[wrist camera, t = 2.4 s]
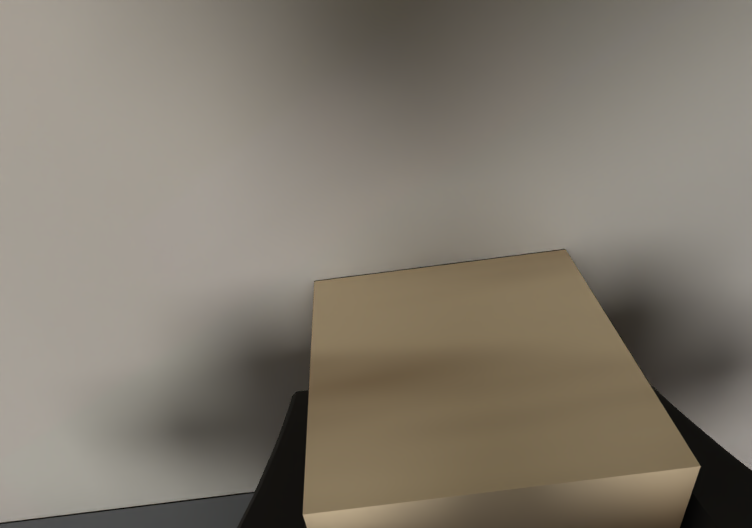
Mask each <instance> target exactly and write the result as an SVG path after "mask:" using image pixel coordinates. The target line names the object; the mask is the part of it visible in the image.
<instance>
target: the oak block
mask: <svg viewBox="0 0 752 528" xmlns="http://www.w3.org/2000/svg"><path fill="white" fill-rule="evenodd" d="M700 467H701V466H700V464H699V463H698V461H697V460H696V458H695V456H694V455H693V453H692V452H691V450H690V448H689V447H688V445H687V444H686V442H685V440H684V439H683V437H682V436H681V434H680V432H679V431H678V429H677V428H676V426H675V424H674V423H673V421H672V420H671V418H670V416H669V415H668V413H667V412H666V410H665V408H664V407H663V405H662V403H661V402H660V400H659V399H658V397H657V395H656V394H655V392H654V391H653V389H652V387H651V386H650V384H649V383H648V381H647V379H646V378H645V376H644V375H643V373H642V371H641V370H640V368H639V367H638V365H637V363H636V362H635V360H634V359H633V357H632V355H631V354H630V352H629V351H628V349H627V347H626V346H625V344H624V343H623V341H622V339H621V338H620V336H619V335H618V333H617V331H616V330H615V328H614V327H613V325H612V323H611V322H610V320H609V319H608V317H607V315H606V314H605V312H604V311H603V309H602V307H601V306H600V304H599V302H598V301H597V299H596V298H595V296H594V294H593V293H592V291H591V290H590V288H589V286H588V285H587V283H586V282H585V280H584V278H583V277H582V275H581V274H580V272H579V270H578V269H577V267H576V266H575V264H574V262H573V261H572V259H571V258H570V256H569V254H568V253H567V251H566V250H558V251H550V252H542V253H534V254H527V255H519V256H511V257H503V258H495V259H487V260H479V261H472V262H464V263H456V264H448V265H440V266H432V267H424V268H417V269H409V270H401V271H393V272H385V273H377V274H369V275H362V276H354V277H346V278H338V279H330V280H322V281H314V299H313V319H312V339H311V359H310V378H309V398H308V418H307V438H306V458H305V478H304V498H303V517H304V520H305V523H306V527H307V528H680V525H681V522H682V520H683V517H684V514H685V511H686V508H687V505H688V502H689V499H690V496H691V493H692V490H693V487H694V484H695V481H696V478H697V476H698V473H699V470H700Z"/></svg>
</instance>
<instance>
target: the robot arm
mask: <svg viewBox="0 0 752 528" xmlns="http://www.w3.org/2000/svg"><path fill="white" fill-rule="evenodd" d="M650 386H651V385H650ZM651 387H652V386H651ZM652 389H653V391H654V392H655V394H656V395H657V397H658V399H659V400H660V402H661V403H662V405H663V407H664V408H665V410H666V412H667V413H668V415H669V416H670V418H671V420H672V421H673V423H674V424H675V426H676V428H677V429H678V431H679V432H680V434H681V436H682V437H683V439H684V440H685V442H686V444H687V445H688V447H689V448H690V450H691V452H692V453H693V455H694V456H695V458H696V460H697V461H698V463H699V464H700V466H701V467H700V470H699V473H698V476H697V478H696V481H695V484H694V487H693V490H692V493H691V496H690V499H689V502H688V505H687V508H686V511H685V514H684V517H683V520H682V522H681V525H680V528H752V470H750V469H749V468H748V467H746V466H745V465H744V464H743V463H741V462H740V461H739V460H737V459H736V458H735V457H734V456H732V455H731V454H730V453H729V452H727V451H726V450H725V449H724V448H723V447H721V446H720V445H719V444H718V443H716V442H715V441H714V440H713V439H712V438H710V437H709V436H708V435H707V434H706V433H705V432H703V431H702V430H701V429H700V428H699V427H698V426H696V425H695V424H694V423H693V422H692V421H690V420H689V419H688V418H687V417H686V416H685V415H683V414H682V413H681V412H680V411H679V410H678V409H677V408H676V407H674V406H673V405H672V404H671V403H670V402H669V401H668V400H667V399H665V398H664V397H663V396H662V395H661V394H660V393H659V392H658V391H657V390H655V389H654V388H653V387H652ZM308 398H309V390H307V391H299V392H296V393H295V394H294V395H293V396H292V399H291V402H290V406H289V409H288V412H287V415H286V418H285V421H284V423H283V426H282V429H281V432H280V434H279V437H278V439H277V442H276V444H275V447H274V449H273V452H272V454H271V457H270V459H269V461H268V463H267V466H266V468H265V470H264V472H263V475H262V477H261V479H260V482H259V484H258V486H257V488H256V490H255V493H254V495H253V497H252V499H251V501H250V503H249V505H248V507H247V509H246V511H245V513H244V515H243V517H242V519H241V521H240V523H239V525H238V526H237V528H307V527H306V523H305V520H304V517H303V498H304V478H305V458H306V438H307V418H308Z"/></svg>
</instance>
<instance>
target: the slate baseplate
mask: <svg viewBox="0 0 752 528" xmlns="http://www.w3.org/2000/svg"><path fill="white" fill-rule="evenodd" d="M253 495H254V493H251V494H243V495H235V496H226V497H218V498H210V499H202V500H194V501H186V502H177V503H169V504H161V505H153V506H145V507H137V508H128V509H120V510H112V511H104V512H96V513H88V514H79V515H71V516H63V517H55V518H47V519H39V520H30V521H22V522H14V523H6V524H0V528H237V526H238V525H239V523H240V521H241V519H242V517H243V515H244V513H245V511H246V509H247V507H248V505H249V503H250V501H251V499H252V497H253Z"/></svg>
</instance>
